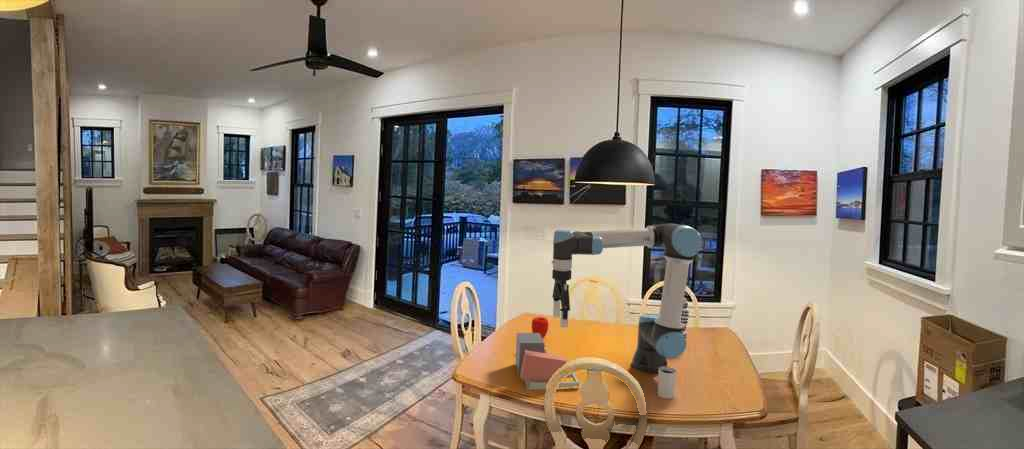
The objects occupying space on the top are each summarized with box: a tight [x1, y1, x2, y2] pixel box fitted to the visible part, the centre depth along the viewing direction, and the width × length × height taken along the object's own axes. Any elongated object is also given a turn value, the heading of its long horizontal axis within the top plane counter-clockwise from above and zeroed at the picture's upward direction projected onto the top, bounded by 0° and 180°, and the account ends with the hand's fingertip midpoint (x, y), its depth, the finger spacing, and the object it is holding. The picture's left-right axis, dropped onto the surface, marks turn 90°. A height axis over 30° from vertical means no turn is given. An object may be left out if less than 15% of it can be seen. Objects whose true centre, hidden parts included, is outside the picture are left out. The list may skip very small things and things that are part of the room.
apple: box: [531, 316, 550, 339], centre depth 236 cm, size 9×9×11 cm
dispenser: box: [515, 332, 546, 377], centre depth 195 cm, size 11×12×14 cm
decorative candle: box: [681, 297, 690, 340], centre depth 233 cm, size 9×9×25 cm
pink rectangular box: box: [519, 350, 567, 382], centre depth 182 cm, size 16×5×10 cm, turn 96°
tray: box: [524, 372, 580, 390], centre depth 182 cm, size 20×9×3 cm, turn 96°
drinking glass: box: [657, 366, 677, 400], centre depth 177 cm, size 7×7×10 cm
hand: (560, 321), depth 184 cm, fingers open, 13 cm apart
